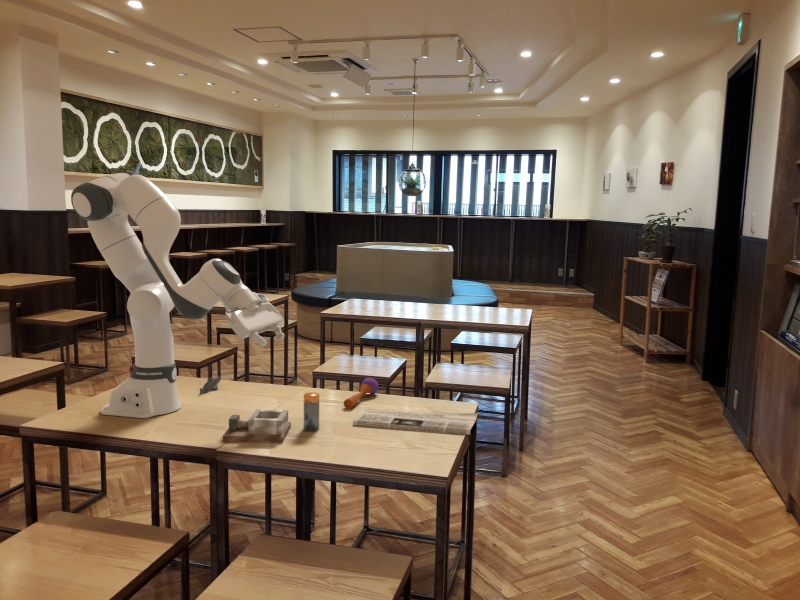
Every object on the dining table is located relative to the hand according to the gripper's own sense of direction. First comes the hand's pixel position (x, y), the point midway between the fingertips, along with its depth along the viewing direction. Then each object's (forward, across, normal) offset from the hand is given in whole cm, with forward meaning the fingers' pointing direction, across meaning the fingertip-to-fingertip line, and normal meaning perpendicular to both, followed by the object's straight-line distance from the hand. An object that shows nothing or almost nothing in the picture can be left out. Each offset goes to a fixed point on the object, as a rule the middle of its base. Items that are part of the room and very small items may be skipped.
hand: (274, 341), depth 173 cm
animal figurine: (-9, +20, +44) cm, 49 cm away
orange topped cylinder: (+26, -2, +8) cm, 27 cm away
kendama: (+28, +30, +7) cm, 41 cm away
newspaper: (+45, +14, -10) cm, 48 cm away
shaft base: (+17, -11, +16) cm, 26 cm away
